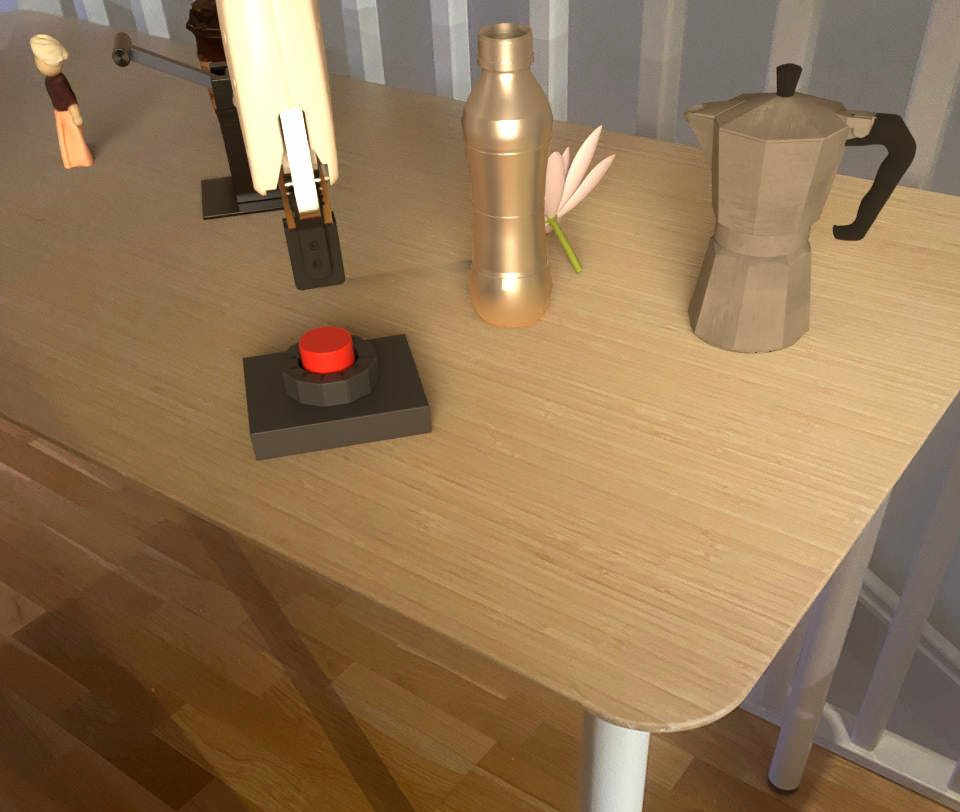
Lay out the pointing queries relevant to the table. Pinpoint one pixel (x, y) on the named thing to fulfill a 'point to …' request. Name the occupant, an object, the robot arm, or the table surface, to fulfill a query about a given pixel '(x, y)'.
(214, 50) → the coffee cup
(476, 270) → the gold metal bottle
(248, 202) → the lever bracket
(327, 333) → the button
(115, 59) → the switch lever
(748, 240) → the coffeepot
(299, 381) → the switch base
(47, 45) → the grandmother figurine
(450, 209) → the table surface
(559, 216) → the water lily
